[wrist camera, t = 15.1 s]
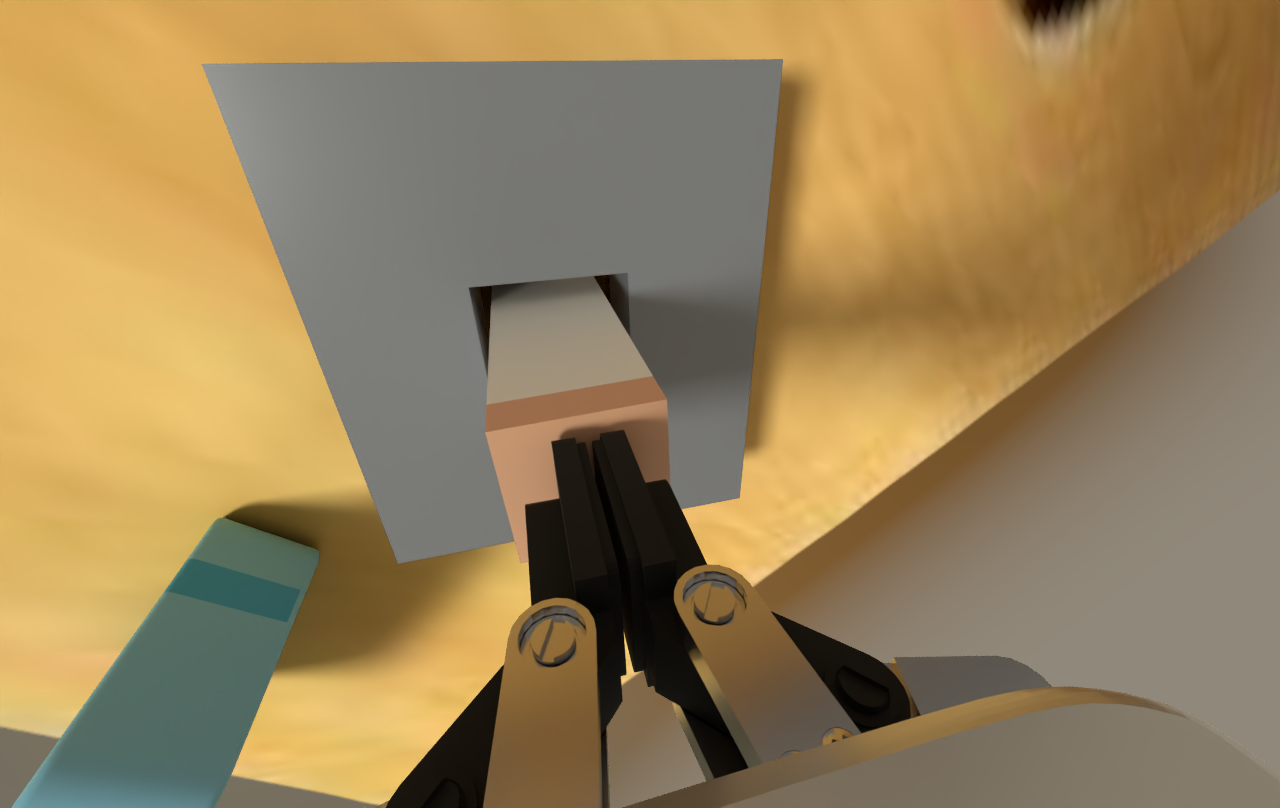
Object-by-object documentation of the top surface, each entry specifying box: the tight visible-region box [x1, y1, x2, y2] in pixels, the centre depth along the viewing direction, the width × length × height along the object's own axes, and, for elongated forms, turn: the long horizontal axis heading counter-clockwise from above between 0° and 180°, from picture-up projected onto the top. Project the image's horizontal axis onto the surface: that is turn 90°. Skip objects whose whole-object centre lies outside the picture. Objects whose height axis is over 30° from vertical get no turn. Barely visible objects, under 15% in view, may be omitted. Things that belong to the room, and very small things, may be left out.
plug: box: [485, 276, 670, 563], centre depth 17 cm, size 4×4×12 cm
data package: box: [12, 518, 320, 808], centre depth 20 cm, size 12×4×12 cm, turn 137°
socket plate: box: [202, 59, 783, 564], centre depth 20 cm, size 18×16×4 cm
